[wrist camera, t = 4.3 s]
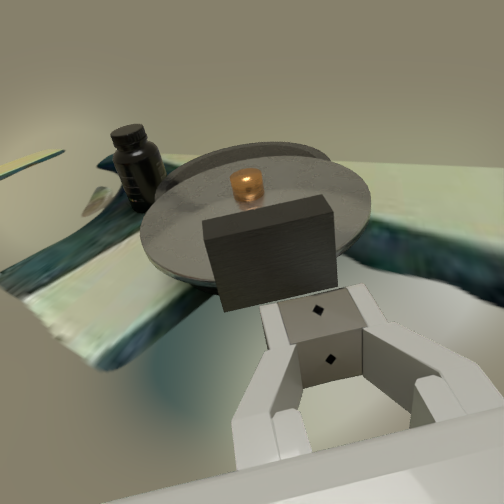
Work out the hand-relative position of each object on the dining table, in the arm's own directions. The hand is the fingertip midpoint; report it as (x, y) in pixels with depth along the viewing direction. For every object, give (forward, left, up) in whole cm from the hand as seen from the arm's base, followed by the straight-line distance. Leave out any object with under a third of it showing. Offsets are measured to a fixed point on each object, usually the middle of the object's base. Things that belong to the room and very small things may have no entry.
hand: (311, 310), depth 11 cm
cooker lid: (+23, -5, -11) cm, 26 cm away
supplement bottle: (+53, +3, -20) cm, 57 cm away
